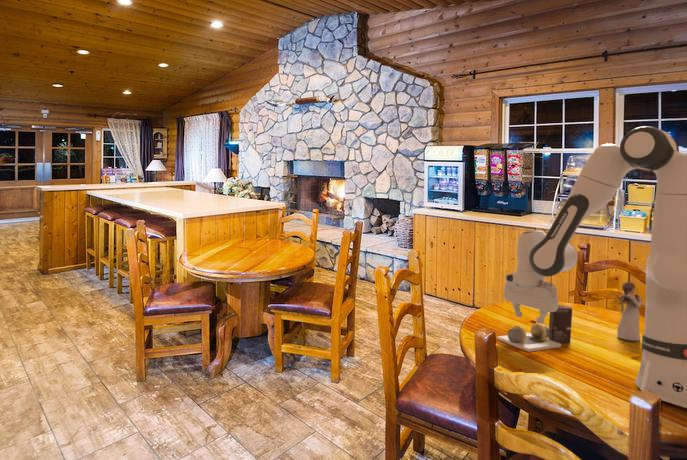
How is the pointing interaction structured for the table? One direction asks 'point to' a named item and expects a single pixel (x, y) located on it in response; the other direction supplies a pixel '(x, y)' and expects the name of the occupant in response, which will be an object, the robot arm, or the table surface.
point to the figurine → (629, 313)
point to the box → (560, 324)
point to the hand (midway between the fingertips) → (529, 319)
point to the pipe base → (529, 338)
